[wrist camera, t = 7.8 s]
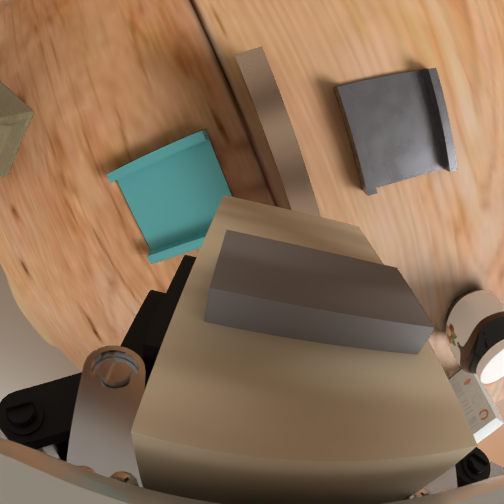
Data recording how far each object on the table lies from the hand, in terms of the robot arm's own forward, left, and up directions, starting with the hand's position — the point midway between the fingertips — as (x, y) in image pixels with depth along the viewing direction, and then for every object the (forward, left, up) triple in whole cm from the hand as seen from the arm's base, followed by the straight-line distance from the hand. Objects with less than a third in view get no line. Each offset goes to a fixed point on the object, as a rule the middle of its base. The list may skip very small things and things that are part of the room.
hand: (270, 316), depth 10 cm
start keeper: (0, -14, -23) cm, 27 cm away
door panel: (0, -2, -23) cm, 23 cm away
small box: (-46, -22, -23) cm, 56 cm away
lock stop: (0, 0, -2) cm, 2 cm away
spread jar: (-29, -23, -23) cm, 44 cm away
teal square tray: (0, +10, -23) cm, 25 cm away
